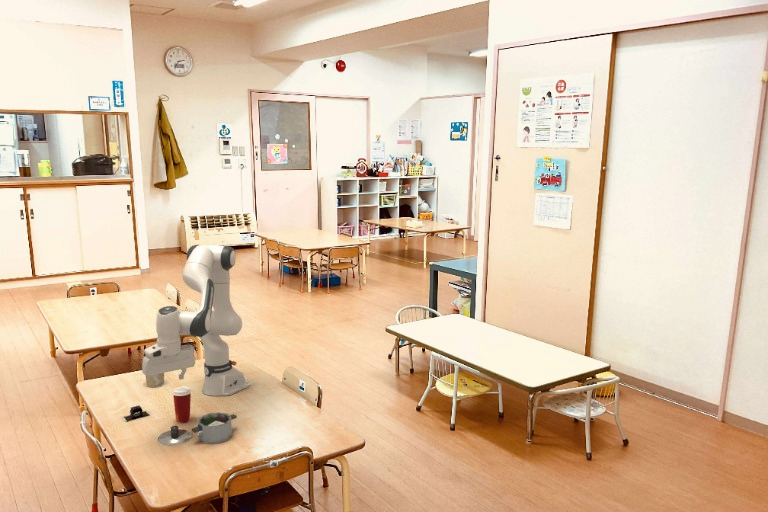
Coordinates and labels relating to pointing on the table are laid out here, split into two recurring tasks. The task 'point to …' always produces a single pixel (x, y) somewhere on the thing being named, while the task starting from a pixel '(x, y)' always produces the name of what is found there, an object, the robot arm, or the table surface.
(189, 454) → the table surface
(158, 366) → the robot arm
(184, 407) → the paper cup
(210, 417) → the pot
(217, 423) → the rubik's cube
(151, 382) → the coffee cup
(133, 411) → the black stepped block
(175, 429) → the lid
